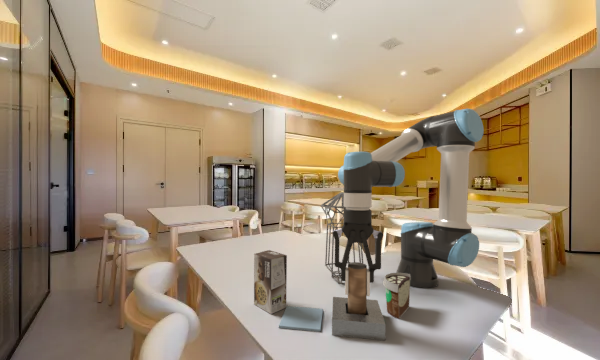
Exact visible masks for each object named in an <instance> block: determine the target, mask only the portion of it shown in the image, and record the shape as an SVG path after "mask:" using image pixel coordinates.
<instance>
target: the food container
mask: <svg viewBox="0 0 600 360" xmlns="http://www.w3.org/2000/svg"><path fill="white" fill-rule="evenodd" d="M410 280H411V276H410V274H407V273H396V272H390V273H387V274H385V276H384V278H383V281H382V284H383V286H384V287H385V296H386V297H385V299H386V300H385V301H386V312H387V314H389V315H390V316H392V317H394V318H395V319H397V320H401V318H402V317H403V315H404V314H405V313H406V312H407V311H408V309H409V308H410V296H411V294H410V293H411V292H410V290H411V286H410Z"/></svg>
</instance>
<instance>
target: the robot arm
mask: <svg viewBox="0 0 600 360" xmlns="http://www.w3.org/2000/svg"><path fill="white" fill-rule="evenodd" d="M484 132H485V131H484V125H483V121H482V118H481V117H480V115H479V113H478V112H476V110H474V109H472V108H462V109H456V110H453V111H449V112H446V113H445V112H444V113H440V114H436V115H431V116H428V117H426V118H424V119H422V120H420V121H418V122H416V123H414V124H413V125H411V126H409V127H408V128H406V129H404V130H403V131H402V132H401V134H400V136H398V137H396V138H394V139H392V140H390V141H389V142H387V143H386V144H384V145H382V146H380V147H379V148H377V149H375V150H373V151H372V152H368V151H351V152H347V153H346V154H345V155H344V157H343V165H341V166H340V167H339V169H338V171H337V177H338V180H339V182H340V183H341V184H342V185H343V192H344V207H346V209H344V211H343V214H344V217H343V223H344V224H343V225H342V226H341V227H342V228H338V230H336V229H334V230H333V229H332V234H333V235H334V263H335V264H334V267H336V268H337V269H338V268H339V270H340V272H341V274H340V275H341V279H340V281H341V280H342V282H344V283H345V284H344V286H345V287H344V291H345V292H344V293H345V294H344V295H346V296H348V263H347V262H348V258H349V259H350V254H351V249H352V248H353V243H354V244H355V243H356V244H358V243H359V244H360V243H362V248H363V251H364V255H365V259H366V262H367V266H368V267H367V293H366V295H367V297H370V296H371V295H370V294H371V292H370V291H371V284H373V283H375V271H377V270H381V269H382V240H383V237H384V234H383V232H382V231H381V230H376V229H374V227H373V225H372V224H373V223H372V217H373V216H372V211H373V210H371V209H370V208H372V206H373V204H372V203H373V201H372V200H373V199H372V196H373V195H372V193H373V192H372V191H373V187H375V188H376V187H377V188H383V187H385V188H387V187H388V188H392V187H398V186H400V185H401V184H402V183H403V181H404V179H405V176H406V175H405V173H406V172H405V169H404V167H403V165H402V163H399V162H398V161H399V160H401V159H403V158H404V157H406V156H407V155H410V154H411V153H415V152H419V151H420V150H422V149H425V148H430V147H431V148H432V147H436V150H437V151H438V152H439V153H440V173H439V174H440V175H439V177H440V179H439V198H438V218H437V220H436V221H434V222H430V221H420V222H419V221H418V222H417V221H415V222H414V221H413V222H412V221H411V222H405V223H402V225H401V230H400V231H401V232H400V262H399V264H398V266H397V269H396V272H395V273H407V274H410V276H411V280H410V287H415V288H422V289H423V288H425V289H429V288H430V289H431V288H435V287H437V286H438V285H439V277H438V273H437V270H436V268H435V265H434V261H438V262H441V263H445V264H448V265H450V266H455V267H456V266H457V267H460V268H466V267H468V266H470V265H472V264H473V263H474V261H475V260H476V258H477V256H478V255H479V251H480V240H479V237H478V236H477V235H476V234H475V233H472V229H473V228H472V226H471V225H470V224H469V223H468V221H467V219H468V197H469V196H468V194H469V171H470V170H469V169H470V168H469V167H470V153H471V152H472V151H474V150H475V147H476V143H477V142H480V141H481V140H482V138H483V136H484ZM342 233H343V235H344V236H345V238H346V239H347V241H346V245H345V249H344V253H343V255H342V256H343V257H342V259H341V261H340V238H341V237H342ZM372 235H373V238H374V263H373V260H372V256H371V252H370V247H369V243H368V240H369V239H370V237H371V236H372Z"/></svg>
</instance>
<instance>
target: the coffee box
mask: <svg viewBox="0 0 600 360" xmlns="http://www.w3.org/2000/svg"><path fill="white" fill-rule="evenodd" d="M287 259H288V255H287V254H284V253H281V252H277V251H273V250H270V249H269V250H264V251H260V252H256V253H254V254H253V304H254V306H256V307H258V308H260V309H262V310H263V311H265V312H266V313H269V314H270V315H272V314H275V313H277V312H279V311H282V310H284V309H286V307H287V274H288V273H287V271H288V269H287V267H288V266H287V264H288V263H287V261H288V260H287Z"/></svg>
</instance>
